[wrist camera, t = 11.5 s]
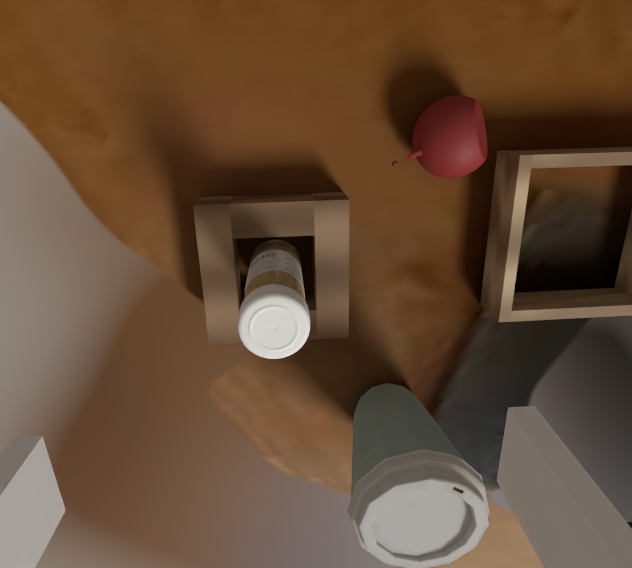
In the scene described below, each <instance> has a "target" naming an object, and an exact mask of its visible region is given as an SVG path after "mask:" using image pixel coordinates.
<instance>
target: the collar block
mask: <svg viewBox="0 0 632 568" xmlns="http://www.w3.org/2000/svg"><path fill="white" fill-rule="evenodd" d="M193 212H194V220H195V229H196V238H197V246H198V255H199V263H200V272H201V280H202V289H203V298H204V306H205V314H206V322H207V332H208V340H209V345H222V344H242V343H243V342H242V341H241V339H240V336H239V333H238V316H239V310H240V307H241V304H242V302H243V301H244V298H242V291H241V279H240V267H239V255H238V244H237V239H239V238H264V237H289V236H312V245H313V284H314V295H305V302H306V304H307V306H308V309H309V315H310V332H309V336H308V338H307V340H317V339H336V338H349V199H348V197H347V196H346V195H345V193H344V192H331V193H302V194H273V195H245V196H216V197H200V198H199V199H198V200H197V201H196V202H195V203H194V204H193Z"/></svg>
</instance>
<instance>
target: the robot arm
mask: <svg viewBox="0 0 632 568" xmlns="http://www.w3.org/2000/svg"><path fill="white" fill-rule="evenodd" d="M497 482H498V484H499V486H500V488H501V489H502V491H503V493H504V495H505V497H506V499H507V500H508V502H509V504H510V506H511V508H512V510H513V511H514V513H515V515H516V517H517V519H518V521H519V522H520V524H521V526H522V528H523V530H524V532H525V533H526V535H527V537H528V539H529V541H530V543H531V544H532V546H533V548H534V550H535V552H536V554H537V555H538V557H539V559H540V561H541V563H542V565H543V566H544V568H632V522H626V521H625V520H624V518H623V517H622V516H621V515H620V513H619V512H618V511H617V510H616V508H615V507H614V506H613V505H612V503H611V502H610V501H609V500H608V498H607V497H606V496H605V495H604V494H603V492H602V491H601V490H600V488H599V487H598V486H597V485H596V483H595V482H594V481H593V480H592V478H591V477H590V476H589V474H588V473H587V472H586V471H585V470H584V468H583V467H582V466H581V464H580V463H579V462H578V461H577V459H576V458H575V457H574V456H573V454H572V453H571V452H570V451H569V449H568V448H567V447H566V446H565V444H564V443H563V442H562V440H561V439H560V438H559V437H558V435H557V434H556V433H555V432H554V430H553V429H552V428H551V427H550V425H549V424H548V423H547V422H546V420H545V419H544V418H543V417H542V415H541V414H540V413H539V412H538V411H537V409H536V408H535V407H534V406H528V407H512V408H508V413H507V419H506V425H505V432H504V438H503V445H502V451H501V457H500V464H499V470H498V476H497ZM64 512H65V507H64V504H63V501H62V498H61V495H60V491H59V488H58V485H57V482H56V479H55V476H54V472H53V469H52V466H51V462H50V459H49V456H48V453H47V450H46V447H45V443H44V440H43V437H42V436H40V437H23V438H13V440H12V441H11V442H10V444H9V445H8V446H7V447H6V449H5V450H4V451H3V453H2V454H1V455H0V568H35V567H36V565H37V563H38V561H39V559H40V558H41V556H42V554H43V552H44V550H45V548H46V546H47V544H48V542H49V541H50V539H51V537H52V535H53V533H54V531H55V529H56V527H57V525H58V523H59V522H60V520H61V518H62V516H63V514H64Z"/></svg>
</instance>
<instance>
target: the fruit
mask: <svg viewBox="0 0 632 568" xmlns="http://www.w3.org/2000/svg"><path fill="white" fill-rule="evenodd" d="M412 144H413V150H414V153H412V154H411V155H409V156H408V157H406V158H405V159H403V160H402V161H404V160H407V159H410V158H413V157H416V158H417V160H418V161H419V163H420V164H421V165H422V167H423V168H424V169H426V170H427V171H428V172H430V173H431V174H433V175H436V176H439V177H443V178H458V177H462V176H465V175H467V174H469V173H471V172H473V171H475V170H476V169H477V168H478V167H480V166H481V165H482V164H483V163H484V161H485V160H486V159H487V134H486V127H485V121H484V117H483V112H482V109H481V106H480V104H479V102H478V101H476V100H475V99H472V98H470V97H466V96H461V95H453V96H447V97H444V98H441V99H439V100H437V101H435V102H433V103H432V104H430V105H429V106H428V107H427V108H426V109H425V110H424V111H423V112H422V113H421V115H420V116H419V118H418V120H417V122H416V124H415V127H414V130H413V137H412ZM400 162H401V161H400ZM392 165H393V166H394V167H396V166H397V165H398V163H397V161H394V162H393V163H392Z"/></svg>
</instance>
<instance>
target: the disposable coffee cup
mask: <svg viewBox="0 0 632 568" xmlns="http://www.w3.org/2000/svg"><path fill="white" fill-rule="evenodd" d="M348 513H349V516H350V519H351V522H352V525H353V528H354V531H355V534H356V537H357V539H358V543H359V545H360V546H361V547H363V548H364V549H366V550H367V551H368V552H370V553H371V554H372V555H374V556H375V557H377V558H378V559H379V560H381V561H382V562H384V563H387V564H388V565H393V566H400V567H406V568H429V567H434V566H438V565H443V564H448V563H451V562H452V561H454V560H456V559H457V558H459V557H460V556H462V555H464V554H465V553H467V552H468V551H470V550H472V549H473V548H475V547H476V545H477V543H478V542H479V540H480V538H481V537H482V535H483V533H484V532H485V530H486V528H487V527H488V525H489V524H488V518H487V516H488V514H489V508H488V503H487V498H486V493H485V488H484V484H483V482H482V476H481V475H480V474H479V473H478V472H476V471H475V470H474V469H473V468H472V467H471V466H469V465H468V464H467V463H466V461H465V460H464V459H463V458H462V456H461V455H460V454H459V452H458V451H457V450H456V448H455V447H454V446H453V444H452V443H451V442H450V440H449V439H448V438H447V436H446V435H445V434H444V432H443V431H442V430H441V428H440V427H439V426H438V424H437V423H436V422H435V420H434V419H433V418H432V416H431V415H430V414H429V412H428V411H427V410H426V408H425V407H424V406H423V404H422V403H421V402H420V400H419V399H418V398H417V397H416V396H415V395H414V394H412V393H411V392H410V391H409V390H408V389H407V388H404V387H403V386H400V385H395V384H390V383H386V384H382V385H378V386H374V387H371V388H370V389H369V390H368V391H367V392H366V393H365V394H363V395H362V396H361V397H360V400H359V401H358V404H357V407H356V410H355V413H354V421H353V454H352V488H351V501H350V504H349V507H348Z"/></svg>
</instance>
